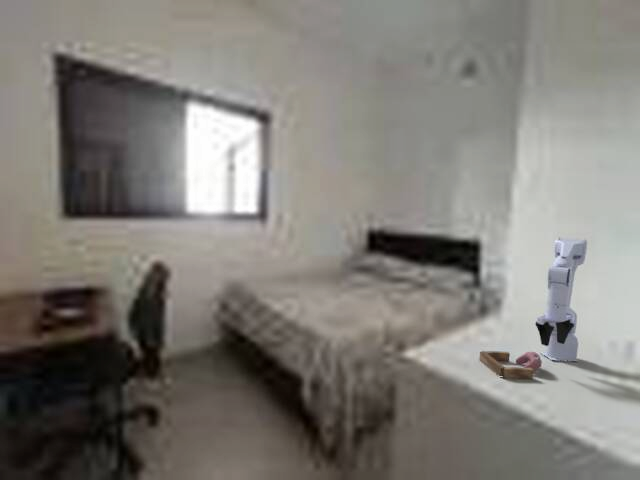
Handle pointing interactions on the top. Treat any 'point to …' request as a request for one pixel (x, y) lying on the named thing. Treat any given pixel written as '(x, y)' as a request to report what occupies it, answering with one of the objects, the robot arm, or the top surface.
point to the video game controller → (530, 360)
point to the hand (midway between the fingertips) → (552, 344)
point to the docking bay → (492, 362)
